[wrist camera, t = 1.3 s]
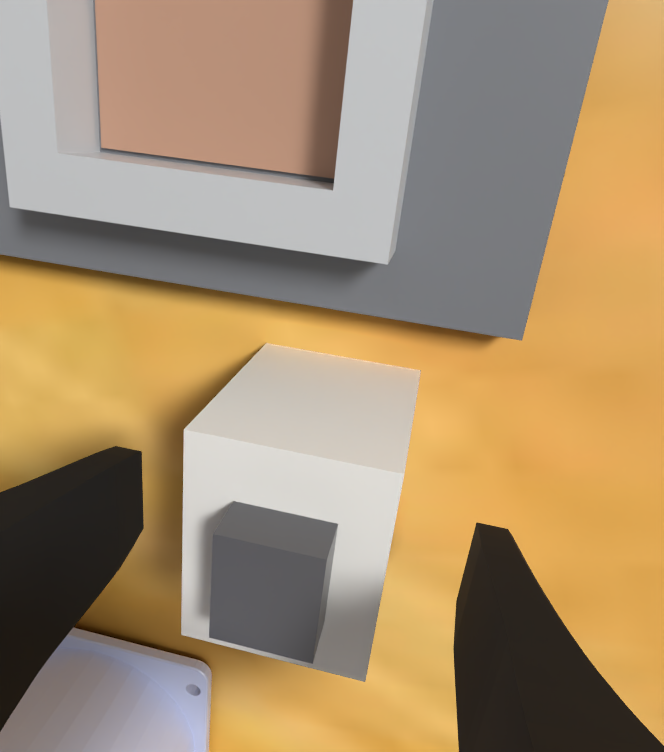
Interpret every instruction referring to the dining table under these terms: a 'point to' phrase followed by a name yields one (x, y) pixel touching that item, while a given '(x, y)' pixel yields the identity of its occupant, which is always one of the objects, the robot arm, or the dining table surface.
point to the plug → (295, 506)
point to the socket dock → (297, 146)
